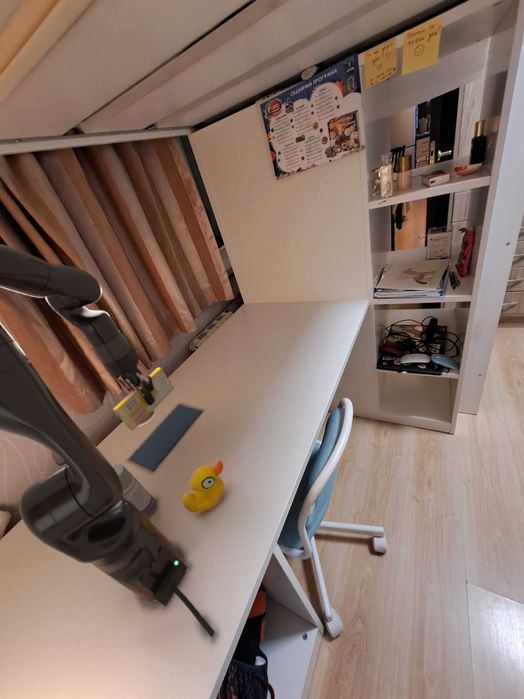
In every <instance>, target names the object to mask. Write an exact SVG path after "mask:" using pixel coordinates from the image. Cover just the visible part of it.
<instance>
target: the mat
mask: <svg viewBox="0 0 524 699" xmlns="http://www.w3.org/2000/svg"><path fill="white" fill-rule="evenodd" d="M202 413H203V410H201V409H197V408H193V407H189V406H186V405H182V404H178V405H177V406H176V407H174V409H173V410H172V411H171V412H170V413H169V414H168V416H167V417H166V418H165V419H164V420H163V421H162V422H161V423H160V424H159V425H158V426H157V427H156V429H155V430H154V431H153V432H152V433H151V434H150V435H149V436H148V437H147V439H146V440H144V442H143V443H142V444H141V445H140V446H139V447H138V448H137V450H136V451H135V452H134V453H133V454H132V455H131V456H130V457H129V458H128V459H129V460H130V461H132V462H134V463H135V464H138V465H140V466H142V467H145V468H146V469H148V470H150V471H153V472H154V471H155V470H156V469H157V467H158V466H159V465H160V464H161V462H162V461H163V460H164V459H165V458H166V457H167V455H168V454H169V453H170V452H171V451H172V449H173V448H174V447H175V445H176V444H177V443H178V442H179V441H180V439H181V438H182V437H183V436H184V435H185V433H186V432H187V431H188V430H189V429H190V427H191V426H192V425H193V424H194V422H195V421H196V420H197V419H198V418H199V417H200V415H201V414H202Z"/></svg>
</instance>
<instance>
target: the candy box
mask: <svg viewBox="0 0 524 699" xmlns="http://www.w3.org/2000/svg"><path fill="white" fill-rule="evenodd" d="M148 376H150V377H151V378H152V383H153V388H154V390H153V391H152V392H151V394H152V395H153V397H154V398H155V402H154V403H153V404H152V405H151V406H150V405H148V404H147V403H146V401H145V400H144V399H143V397H142V396H141V394H140V393H139V392H138V391H135V390H133V391H130V393H128V394H127V395H126V396H125V397H124V398H123V399H122V400H121V401H120V402H118V404H117V405H116V406H114V407H113V408H112V410H113V411H114V412H115V413H116V415H117V416H118V418H119V419H120V420H121V421H122V422H123V423H124V424H125V426H126V427H127V428H128V429H129V431H131V432H133V431H135V430H136V429H137V427H139V426H140V424H141V423H142V422H143V421H144V420H145V419H146V418H147V417H148V416H149V415H150V414H151V413H152V412H153V411H154V410H155V409H156V408H157V407H158V406H159V404H161V402H163V401H164V400H165V399H166V397H167V396H169V394H170V393H171V392H173V390H174V389H175V387H174V385H173V384H172V383H171V381H170V379H169V378H168V377H167V374H166V373H165V371H164V370H163V368H162V367H158V366H157V368H155V369H154V370H153V371H152V372H150V374H149V375H148ZM142 391H143V389H142Z"/></svg>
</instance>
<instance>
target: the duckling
mask: <svg viewBox="0 0 524 699" xmlns="http://www.w3.org/2000/svg"><path fill="white" fill-rule="evenodd" d="M223 470H224V463H223V461H222V460H218V461H217V463H216V464H214V466H213V467H212V466H211V465H202V466H199V467H198V468H197V469H196V470H195V471H194V472H193V474H192V475H191V479H190V481H189V484H188V486H189V488H190V489H191V490H192V491H193V492H186V493H185V494H184V495H182V496H183V497H182V505H183V506H184V508H185V509H186V510H187V511H188V512H190V513H192V514H196V513H200V512H204V511H205V512H206V511H208V510H210V509H212V508H214V507H215V506H216V505H217V504H218V502H219V501H220V499H221V498H222V496H223V493H224V490H225V483H224V480H223V479H222V478H221V477H220V476H219V475H221V473H222V472H223Z"/></svg>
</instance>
